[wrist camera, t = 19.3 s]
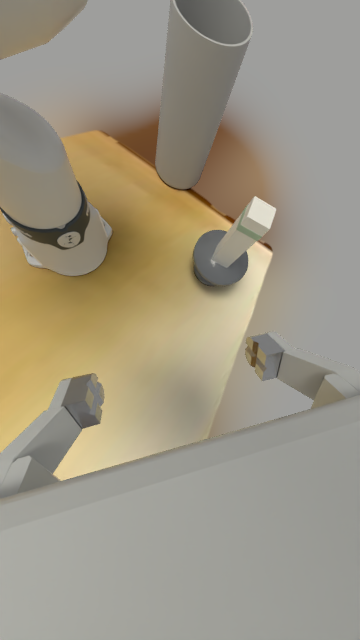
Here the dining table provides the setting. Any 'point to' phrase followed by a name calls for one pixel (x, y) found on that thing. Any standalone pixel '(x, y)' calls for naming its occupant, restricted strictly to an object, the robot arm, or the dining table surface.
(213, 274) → the pedestal
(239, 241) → the column
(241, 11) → the cylinder vase
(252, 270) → the dining table surface
